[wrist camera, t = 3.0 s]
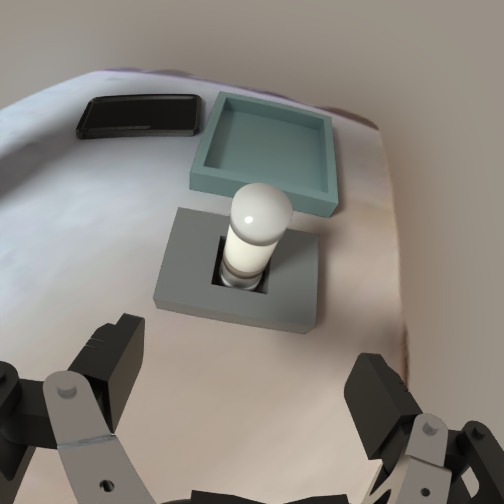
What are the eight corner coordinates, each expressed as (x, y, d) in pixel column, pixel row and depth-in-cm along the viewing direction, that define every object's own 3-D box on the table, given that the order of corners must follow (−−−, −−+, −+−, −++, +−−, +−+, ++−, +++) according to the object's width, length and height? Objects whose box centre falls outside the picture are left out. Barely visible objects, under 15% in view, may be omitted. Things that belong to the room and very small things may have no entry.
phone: (91, 97, 33) (201, 94, 36) (92, 103, 34) (201, 101, 37) (72, 135, 29) (199, 132, 32) (74, 142, 30) (198, 139, 33)
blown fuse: (214, 292, 25) (227, 225, 16) (221, 255, 26) (237, 177, 18) (256, 299, 25) (291, 238, 16) (260, 262, 27) (293, 189, 18)
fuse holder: (156, 308, 23) (153, 297, 21) (179, 223, 27) (178, 207, 25) (304, 333, 24) (315, 326, 22) (309, 248, 28) (318, 235, 26)
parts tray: (189, 189, 29) (189, 172, 27) (217, 107, 36) (219, 91, 34) (328, 218, 30) (338, 203, 28) (324, 131, 37) (331, 117, 35)
